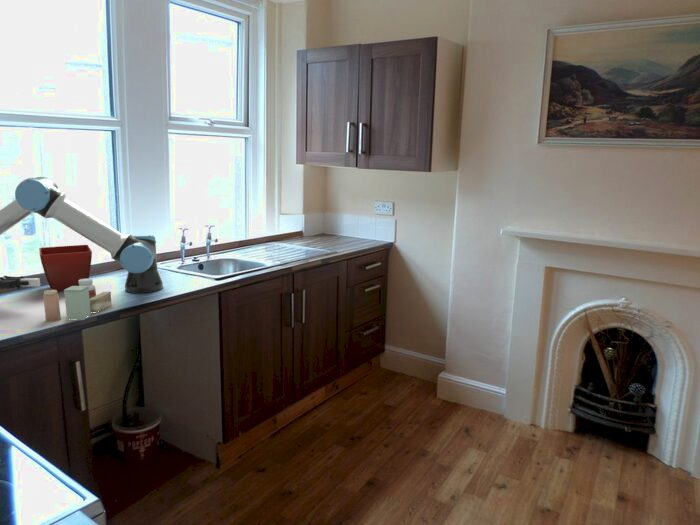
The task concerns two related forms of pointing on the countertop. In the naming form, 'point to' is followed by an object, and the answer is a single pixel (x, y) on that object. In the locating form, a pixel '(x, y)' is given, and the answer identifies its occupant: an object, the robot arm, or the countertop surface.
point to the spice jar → (51, 305)
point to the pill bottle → (91, 287)
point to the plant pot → (66, 265)
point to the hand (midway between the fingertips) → (38, 282)
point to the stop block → (100, 301)
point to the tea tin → (77, 302)
